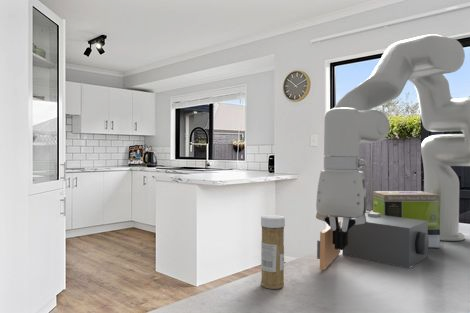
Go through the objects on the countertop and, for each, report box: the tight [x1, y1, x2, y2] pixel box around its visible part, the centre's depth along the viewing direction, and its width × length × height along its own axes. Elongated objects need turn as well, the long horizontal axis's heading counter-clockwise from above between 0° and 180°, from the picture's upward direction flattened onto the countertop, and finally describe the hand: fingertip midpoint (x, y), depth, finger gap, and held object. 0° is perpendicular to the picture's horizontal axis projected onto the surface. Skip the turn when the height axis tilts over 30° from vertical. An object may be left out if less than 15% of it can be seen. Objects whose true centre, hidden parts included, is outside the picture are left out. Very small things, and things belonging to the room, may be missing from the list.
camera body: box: [342, 211, 429, 269], centre depth 91 cm, size 13×17×10 cm
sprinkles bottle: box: [260, 214, 286, 290], centre depth 70 cm, size 5×5×14 cm
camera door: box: [316, 220, 342, 271], centre depth 85 cm, size 2×16×8 cm, turn 152°
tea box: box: [372, 190, 441, 249], centre depth 103 cm, size 15×10×15 cm
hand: (339, 248), depth 80 cm, fingers closed
